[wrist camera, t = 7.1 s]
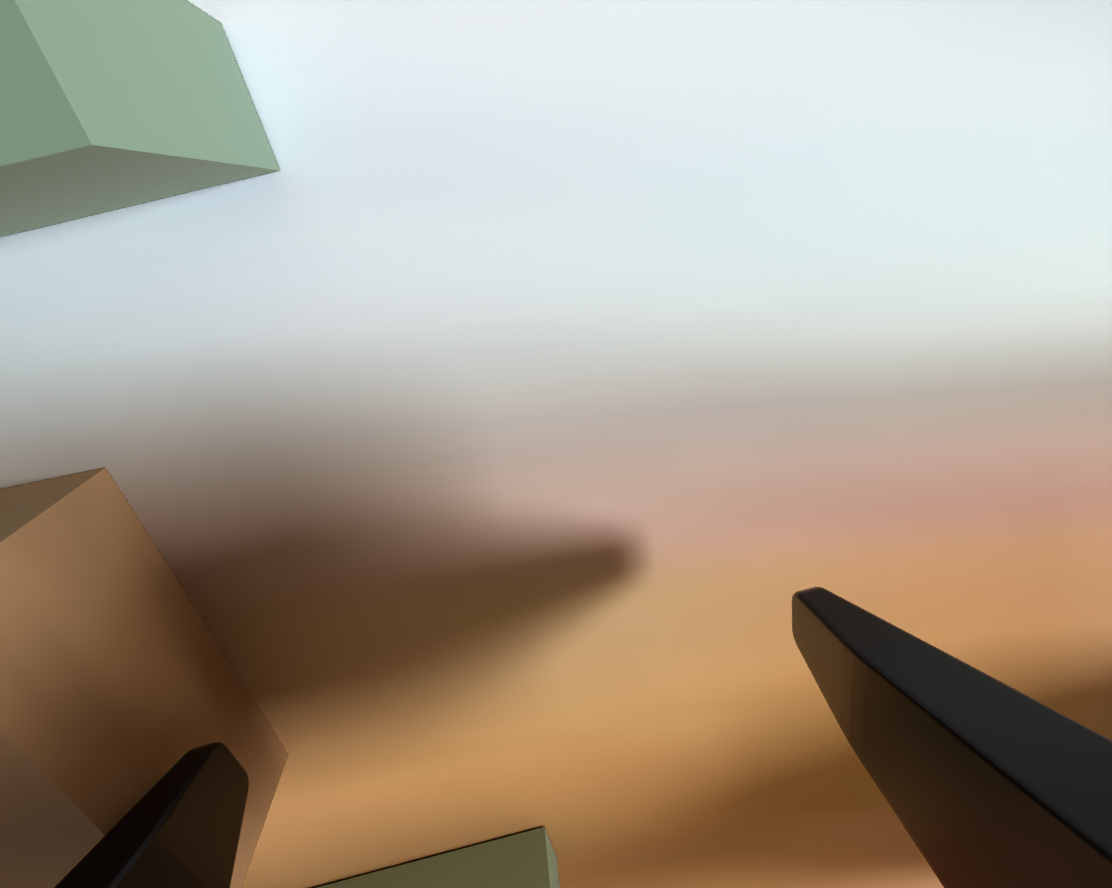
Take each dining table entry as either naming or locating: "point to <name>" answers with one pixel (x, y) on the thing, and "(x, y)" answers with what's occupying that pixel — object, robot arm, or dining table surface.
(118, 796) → the tan wooden block
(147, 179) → the box
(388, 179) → the dining table surface
